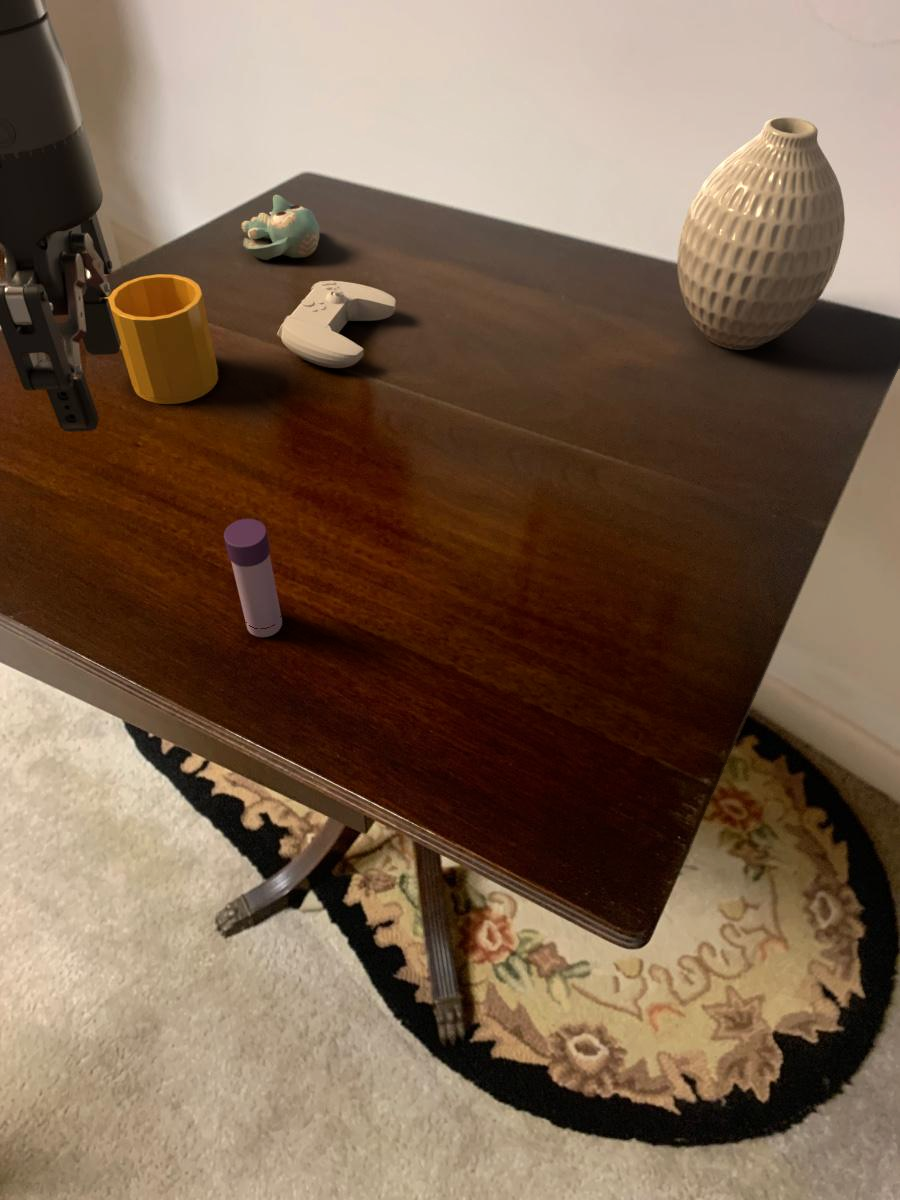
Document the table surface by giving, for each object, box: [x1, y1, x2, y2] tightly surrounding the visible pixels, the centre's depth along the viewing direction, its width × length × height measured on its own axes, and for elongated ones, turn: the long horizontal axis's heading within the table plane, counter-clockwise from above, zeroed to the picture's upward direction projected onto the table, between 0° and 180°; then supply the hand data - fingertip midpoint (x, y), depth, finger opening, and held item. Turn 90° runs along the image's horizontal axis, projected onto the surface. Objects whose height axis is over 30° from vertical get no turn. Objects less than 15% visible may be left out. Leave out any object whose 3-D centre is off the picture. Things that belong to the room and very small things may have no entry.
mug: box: [105, 273, 219, 405], centre depth 90 cm, size 12×9×10 cm
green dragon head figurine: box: [241, 194, 321, 261], centre depth 111 cm, size 11×7×12 cm
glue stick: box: [223, 518, 283, 638], centre depth 67 cm, size 3×3×10 cm
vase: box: [676, 116, 846, 351], centre depth 93 cm, size 16×16×22 cm
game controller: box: [276, 280, 397, 369], centre depth 98 cm, size 14×4×10 cm
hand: (94, 388), depth 57 cm, fingers open, 8 cm apart
